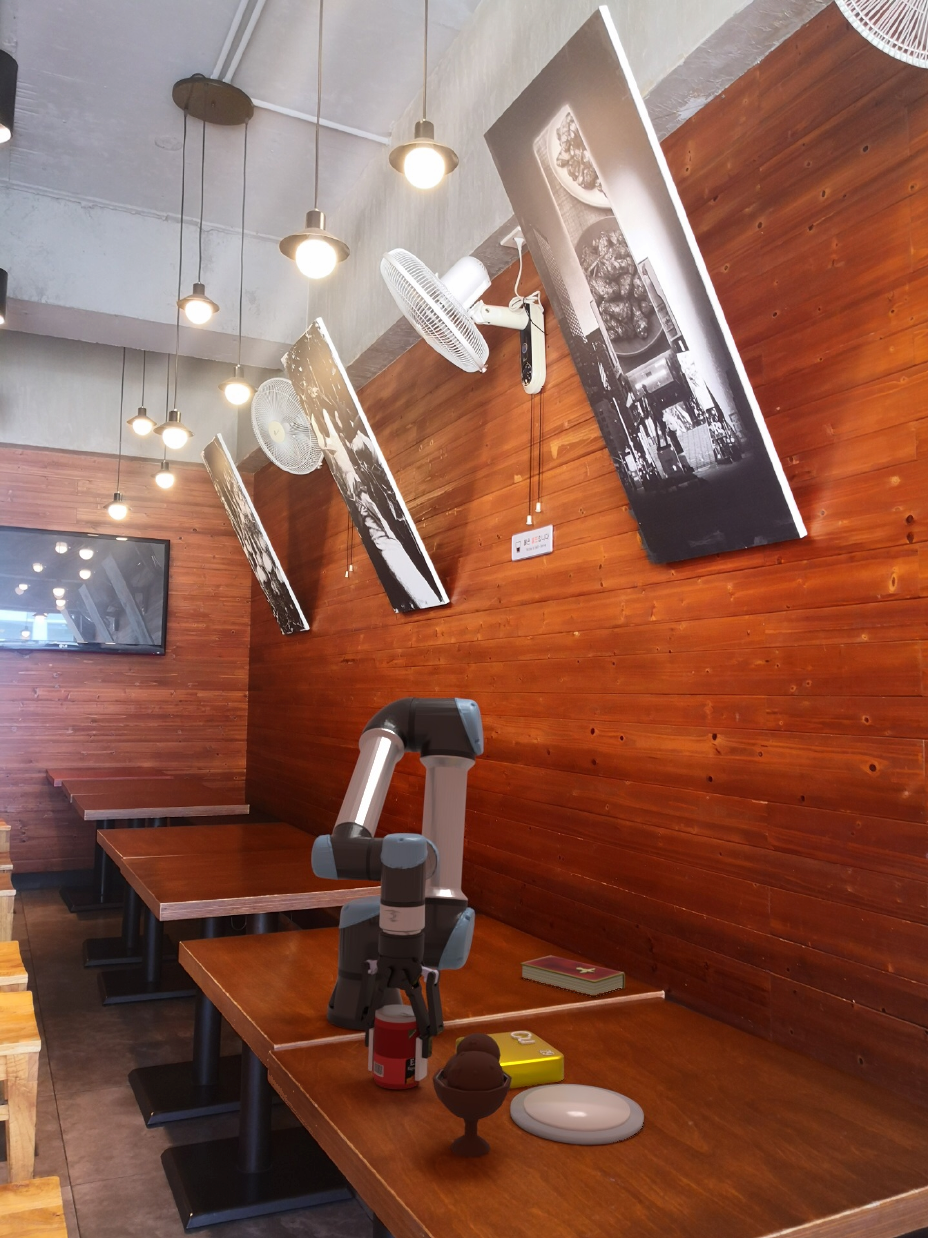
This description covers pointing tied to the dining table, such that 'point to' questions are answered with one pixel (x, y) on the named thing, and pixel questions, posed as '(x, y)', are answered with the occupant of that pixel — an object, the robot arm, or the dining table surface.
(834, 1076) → the dining table surface
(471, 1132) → the ice cream bowl
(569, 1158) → the dining table surface
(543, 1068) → the element tile
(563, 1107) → the dish
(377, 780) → the robot arm
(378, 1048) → the canned food
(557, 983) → the hardcover book
